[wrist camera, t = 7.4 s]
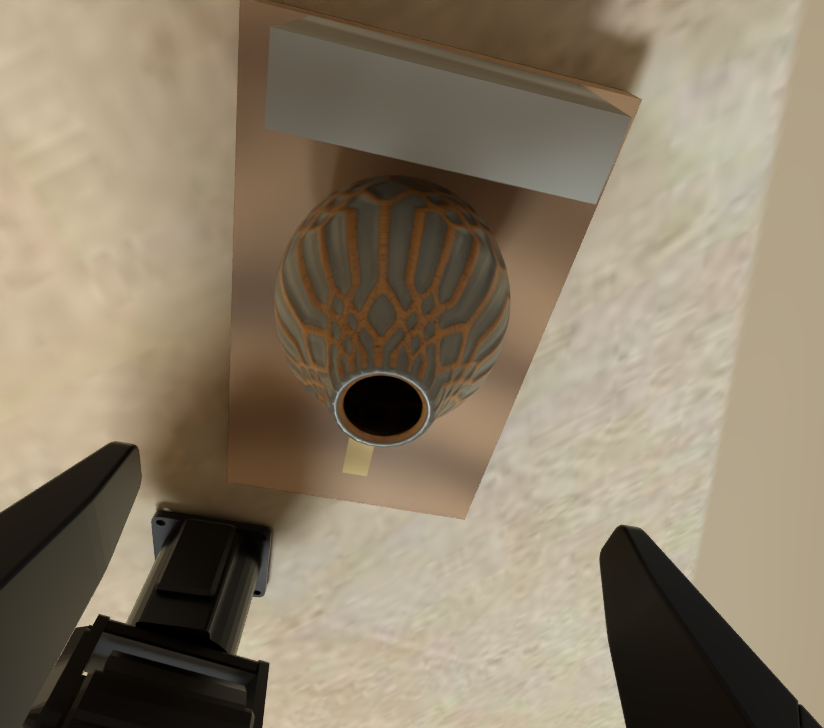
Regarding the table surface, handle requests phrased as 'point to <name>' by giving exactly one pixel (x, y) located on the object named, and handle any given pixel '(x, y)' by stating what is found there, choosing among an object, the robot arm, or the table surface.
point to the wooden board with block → (409, 156)
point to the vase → (391, 306)
